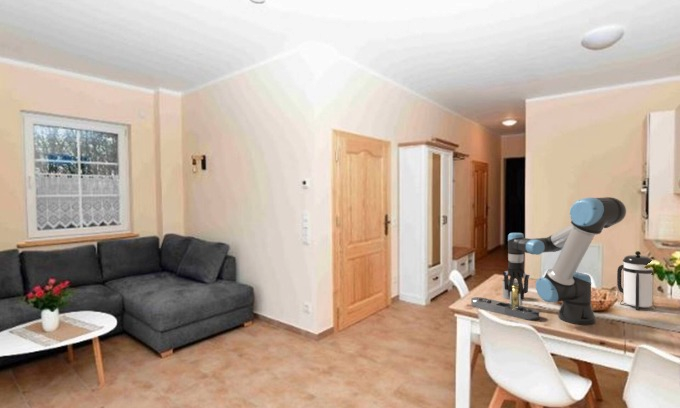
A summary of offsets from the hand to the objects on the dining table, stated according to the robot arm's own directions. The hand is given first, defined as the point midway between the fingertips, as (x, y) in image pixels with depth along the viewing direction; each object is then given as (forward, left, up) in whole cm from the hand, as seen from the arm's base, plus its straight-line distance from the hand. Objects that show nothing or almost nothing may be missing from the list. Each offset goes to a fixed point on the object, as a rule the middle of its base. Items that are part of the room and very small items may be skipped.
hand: (516, 304), depth 197 cm
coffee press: (-43, -46, -2) cm, 63 cm away
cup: (+10, -16, -2) cm, 19 cm away
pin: (0, 0, -2) cm, 2 cm away
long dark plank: (+2, +11, -2) cm, 11 cm away
